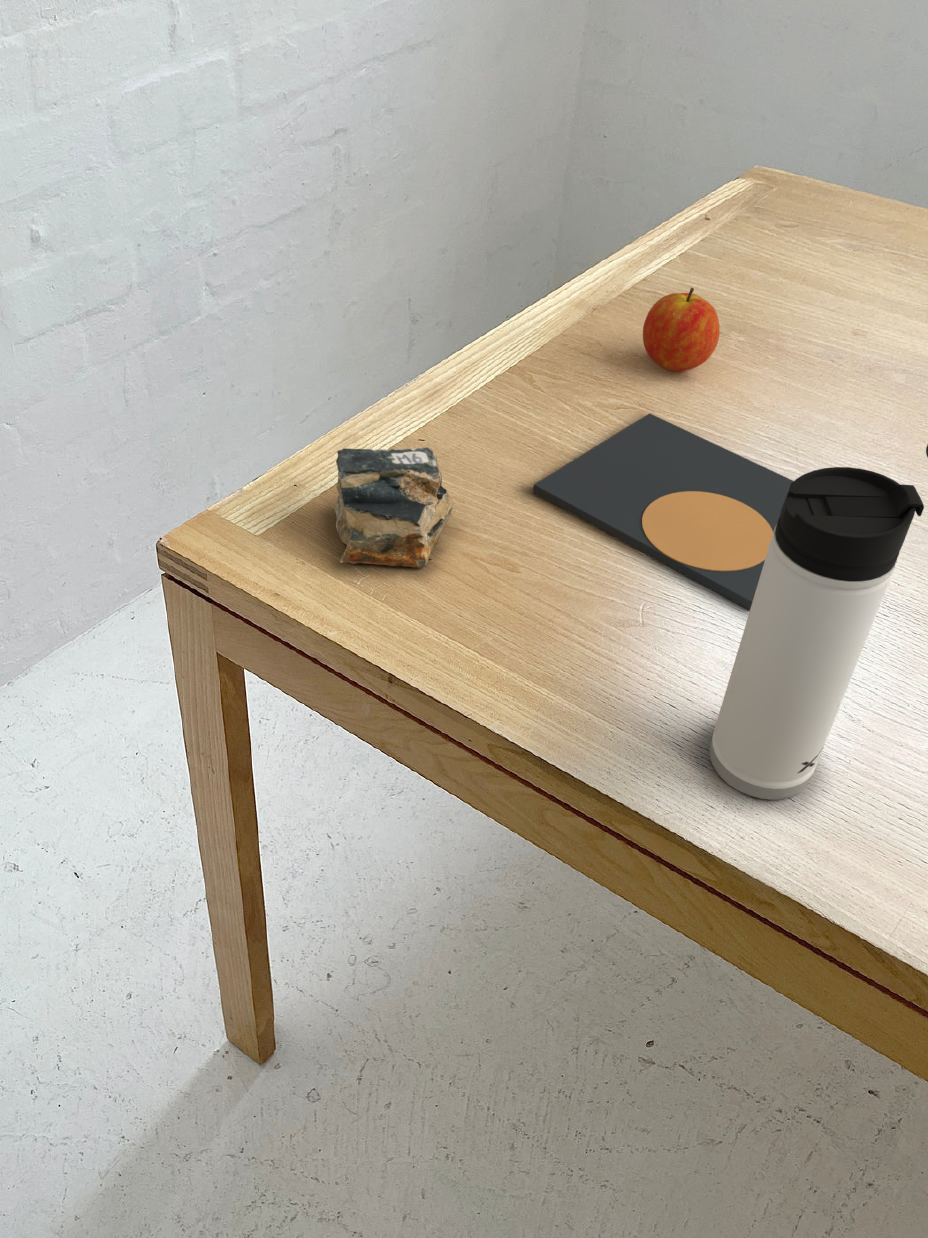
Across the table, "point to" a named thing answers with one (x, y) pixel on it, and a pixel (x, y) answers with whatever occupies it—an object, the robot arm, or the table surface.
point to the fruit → (681, 331)
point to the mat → (677, 502)
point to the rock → (390, 505)
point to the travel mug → (808, 625)
